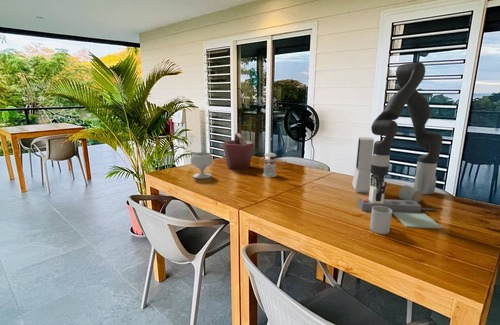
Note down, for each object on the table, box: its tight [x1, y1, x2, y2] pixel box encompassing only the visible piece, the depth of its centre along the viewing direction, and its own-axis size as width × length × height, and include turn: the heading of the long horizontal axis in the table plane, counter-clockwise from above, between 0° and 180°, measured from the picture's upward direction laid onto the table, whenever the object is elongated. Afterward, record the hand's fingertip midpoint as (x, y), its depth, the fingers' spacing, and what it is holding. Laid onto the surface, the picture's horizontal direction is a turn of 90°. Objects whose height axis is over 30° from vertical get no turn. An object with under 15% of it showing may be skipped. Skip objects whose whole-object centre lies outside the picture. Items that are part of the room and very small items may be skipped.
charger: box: [368, 185, 386, 204], centre depth 133 cm, size 5×5×9 cm
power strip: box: [357, 198, 436, 213], centre depth 133 cm, size 34×7×4 cm, turn 85°
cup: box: [369, 206, 393, 235], centre depth 113 cm, size 7×10×9 cm
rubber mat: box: [392, 212, 443, 229], centre depth 122 cm, size 14×14×1 cm
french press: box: [259, 137, 278, 178], centre depth 188 cm, size 10×12×25 cm
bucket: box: [222, 132, 254, 171], centre depth 208 cm, size 24×22×25 cm
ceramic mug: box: [398, 184, 423, 204], centre depth 144 cm, size 11×8×8 cm
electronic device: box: [352, 136, 375, 194], centre depth 158 cm, size 12×8×30 cm, turn 168°
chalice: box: [190, 151, 214, 180], centre depth 184 cm, size 14×14×15 cm
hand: (376, 198), depth 134 cm, fingers closed on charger, 5 cm apart
